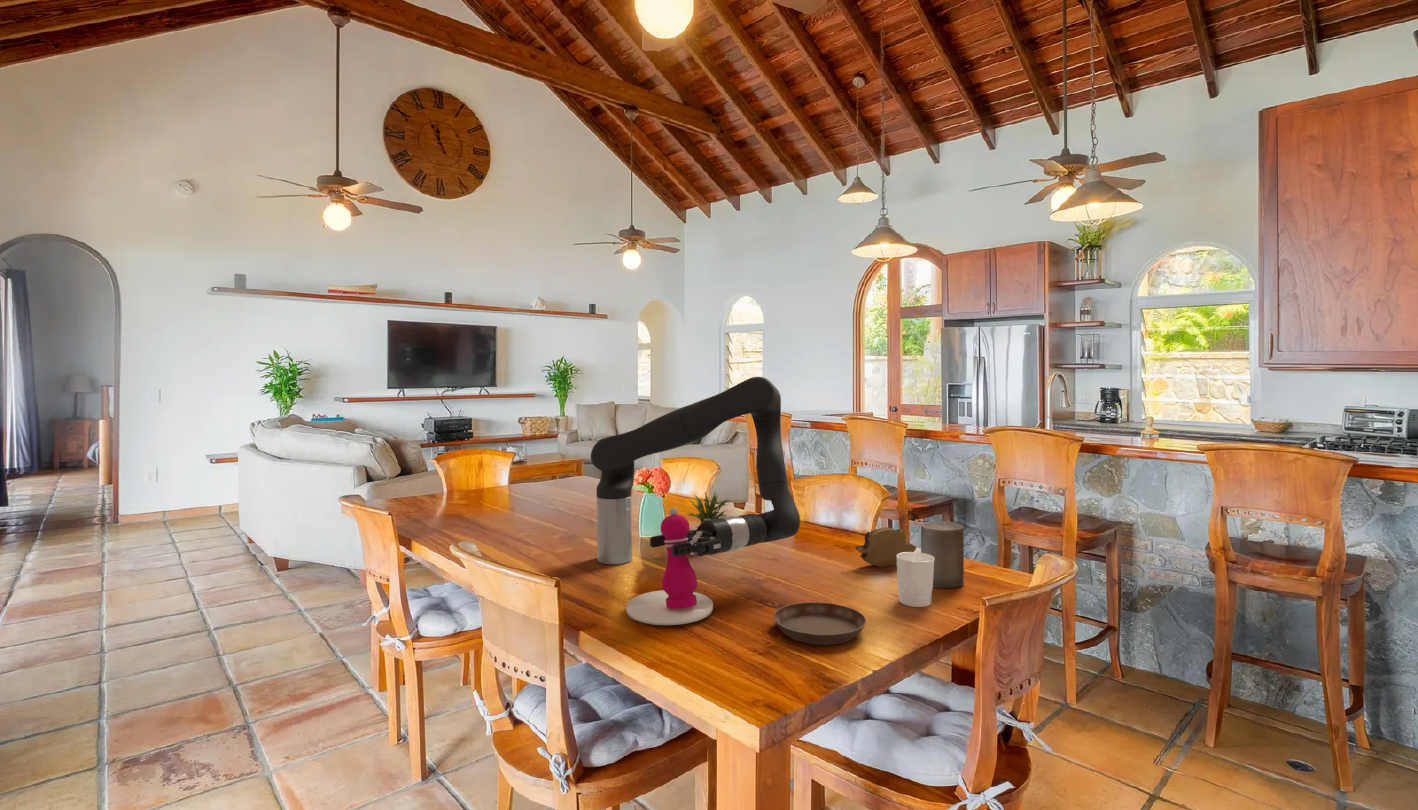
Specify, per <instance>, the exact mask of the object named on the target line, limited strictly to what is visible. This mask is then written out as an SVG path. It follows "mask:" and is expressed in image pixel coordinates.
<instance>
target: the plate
mask: <svg viewBox="0 0 1418 810" xmlns="http://www.w3.org/2000/svg"><path fill="white" fill-rule="evenodd" d="M693 594H694V595H696V599H697V604H696V605H695V606H692V607H688V608H680V609H670V608H667V606H666V598H667V597H669V596H668V594H667V593H666V592H665V591H664V590H663V589H662V590H655V591H654V590H653V591H649V592H645V593H641V594H639V595H636V596H634V597H632V598H631V599H629V600H628V601H627V602H626V608H625V610H626V611H625V612H626V615H627V616H628V617H629V618H631V619H632V620H635V621H636V622H640V623H644V624H647V625H648V624H649V625H654V626H676V625H677V626H678V625H686V624H690V623H695V622H698V621H702V619H705V618H707V617H709V616H710V615H711V614H712V612H713V610H714V603H713V600H712V599H711V598H710V597H709V596H707V595H704V594H702V593H699V592H695V591H694V592H693Z"/></svg>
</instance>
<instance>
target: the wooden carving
mask: <svg viewBox="0 0 1418 810" xmlns="http://www.w3.org/2000/svg"><path fill="white" fill-rule="evenodd" d="M905 535H906V534H905V531H903V530H902V529H900V528H898V529H895V528H892V527H879V528H876V529H873V530H871V531H867V532H866V533H865V535H864V541H865V542H864V544H863V545H862V544H861V545H860V544H859V545H856V546H855V550H857V552H858V553H861V554H860V556H859V557H860V558H861V559H862V560H863V561H864V562H866V563H867V564H869V565H873V566H876V567H880V568H886V567H885V566H887V567H891V566H894V565H897V557H896V555H897V554H899V553H903V552H916V550H917V546H916V545H914V544H912V543H911V542H909V541H906V536H905Z"/></svg>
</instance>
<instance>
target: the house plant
mask: <svg viewBox="0 0 1418 810" xmlns="http://www.w3.org/2000/svg"><path fill="white" fill-rule="evenodd" d="M718 496H719V495H718V494H716V491H715V492H714V493H713V496H712V497H711V500H709V498H708V495H707V493H706V491H704V497H705V498H703V501H704V503H703V502H702V500H701V499H700V498H699V497H698V496H697V495H695V494H694V498H695V500H696V504H695V503H694V502H693V501H691V500H688V501H689V502H690V503H691V504H692V505H693V506H694V507H695V508H696V510H697V511H698V513H695V514H694V513H688V514H687V516H690V517H692V516H693V517H695V518H698V520H699V521H700V524H701V523H702V522H703V521H705V520H710V519H716V518H722V517H728V516H730V515H727V514H726V513H725V512H727V511H729V510H728V509H725V510H723V511H721V512H720V510H721V508H722V507H724V506H728V505H729V502H730V501H732V500H731V499H733V498H734V497H729V498H726V499H724V500H722V501H721V502H720V503H719V504H718V505H717V506H716V504H717V502H718V501H717V499H718ZM709 501H710V502H709ZM700 524H698V525H696V526H695V529H696V530H697V529H698V527H699V525H700Z"/></svg>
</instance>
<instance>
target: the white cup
mask: <svg viewBox="0 0 1418 810" xmlns="http://www.w3.org/2000/svg"><path fill="white" fill-rule="evenodd" d="M896 557H897V563H896V580H897V590H898V601H899V603H901V604H902V605H904V606H907V607H913V608H926V607H929V606H931V605H932V597H933V596H932V595H933V594H932V592H933V589H934V587H933V577H934V559H935V558H934V557H933V556H931V555H929V554H925V553H921V552H919V551H918V552H916V551H914V552H903V553H899V554H897V555H896Z"/></svg>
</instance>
